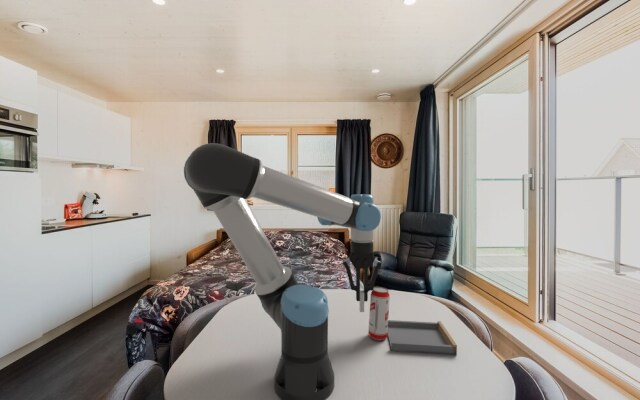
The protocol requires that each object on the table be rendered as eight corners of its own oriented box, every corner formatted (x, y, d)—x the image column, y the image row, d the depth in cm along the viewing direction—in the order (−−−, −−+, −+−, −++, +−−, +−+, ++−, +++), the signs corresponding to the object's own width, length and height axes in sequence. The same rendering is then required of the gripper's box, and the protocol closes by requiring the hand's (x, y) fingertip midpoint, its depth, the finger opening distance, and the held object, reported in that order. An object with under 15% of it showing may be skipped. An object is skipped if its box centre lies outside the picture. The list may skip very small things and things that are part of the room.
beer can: (385, 333, 99) (388, 287, 99) (388, 342, 93) (391, 293, 93) (367, 331, 100) (370, 285, 99) (368, 340, 94) (371, 291, 93)
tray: (456, 355, 86) (456, 345, 86) (391, 350, 88) (391, 341, 88) (440, 329, 102) (440, 321, 102) (385, 326, 104) (385, 318, 104)
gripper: (380, 238, 99) (380, 306, 100) (342, 238, 101) (342, 305, 101) (383, 243, 92) (382, 316, 93) (342, 242, 93) (342, 314, 94)
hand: (361, 310), depth 97 cm, fingers closed
